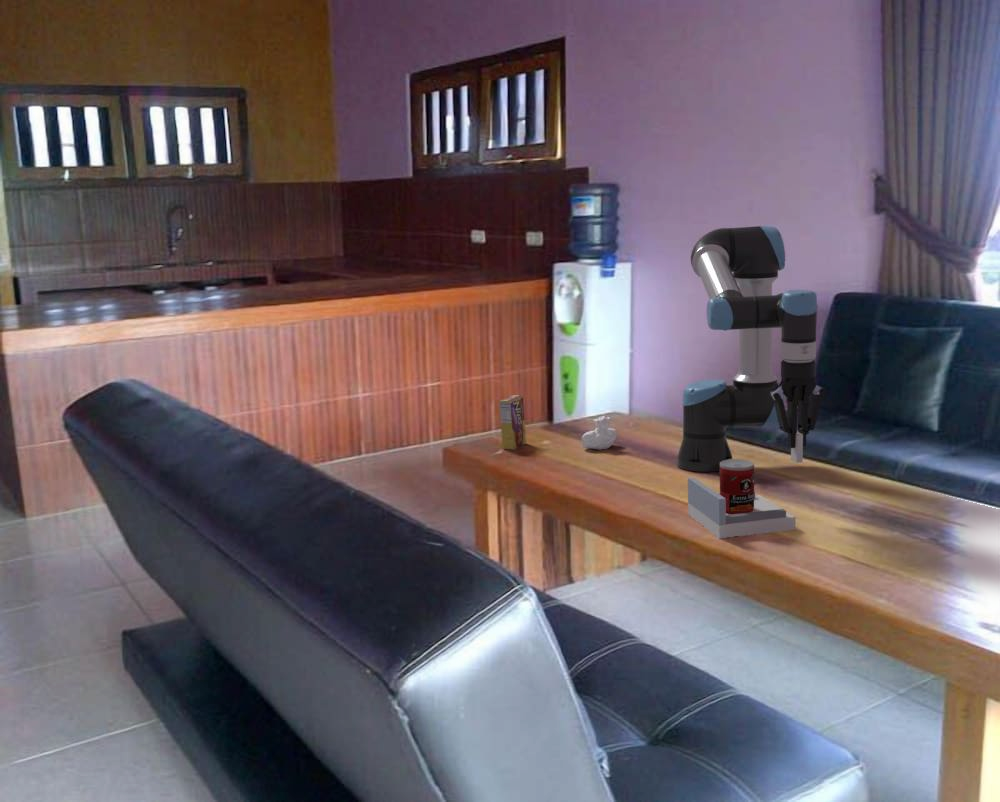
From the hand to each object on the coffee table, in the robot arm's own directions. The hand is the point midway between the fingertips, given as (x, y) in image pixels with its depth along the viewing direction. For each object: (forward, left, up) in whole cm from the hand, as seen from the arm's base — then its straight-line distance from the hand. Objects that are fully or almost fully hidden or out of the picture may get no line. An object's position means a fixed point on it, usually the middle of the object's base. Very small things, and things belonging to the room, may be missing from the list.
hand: (796, 460), depth 233 cm
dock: (0, -14, -13) cm, 19 cm away
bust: (-78, -23, -13) cm, 82 cm away
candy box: (-91, -47, -13) cm, 103 cm away
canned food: (0, -15, -10) cm, 18 cm away
